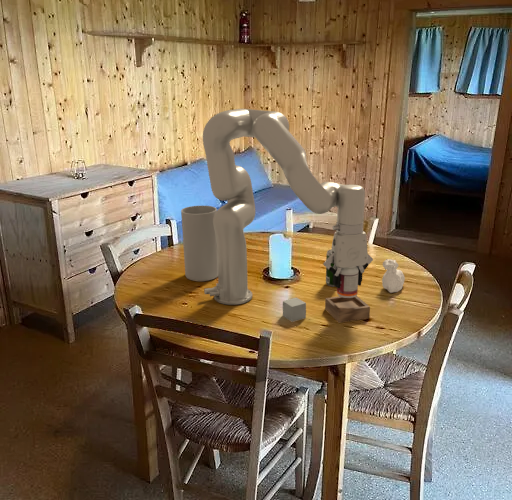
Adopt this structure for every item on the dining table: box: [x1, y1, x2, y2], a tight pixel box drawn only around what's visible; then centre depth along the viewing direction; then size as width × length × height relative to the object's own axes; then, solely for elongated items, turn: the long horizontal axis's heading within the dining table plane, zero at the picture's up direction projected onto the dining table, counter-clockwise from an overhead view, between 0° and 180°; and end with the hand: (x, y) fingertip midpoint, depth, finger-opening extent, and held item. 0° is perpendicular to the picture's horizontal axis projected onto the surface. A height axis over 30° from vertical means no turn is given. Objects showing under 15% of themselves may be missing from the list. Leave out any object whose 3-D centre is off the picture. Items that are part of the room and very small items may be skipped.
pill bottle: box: [336, 266, 359, 298], centre depth 156 cm, size 6×6×11 cm
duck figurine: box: [381, 258, 406, 294], centre depth 177 cm, size 12×8×11 cm
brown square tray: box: [324, 295, 371, 324], centre depth 159 cm, size 10×10×4 cm
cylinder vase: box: [180, 205, 218, 282], centre depth 188 cm, size 12×12×25 cm
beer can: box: [325, 249, 335, 288], centre depth 181 cm, size 5×5×12 cm
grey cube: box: [282, 297, 307, 323], centre depth 158 cm, size 5×5×5 cm
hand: (347, 284), depth 157 cm, fingers closed on pill bottle, 6 cm apart
